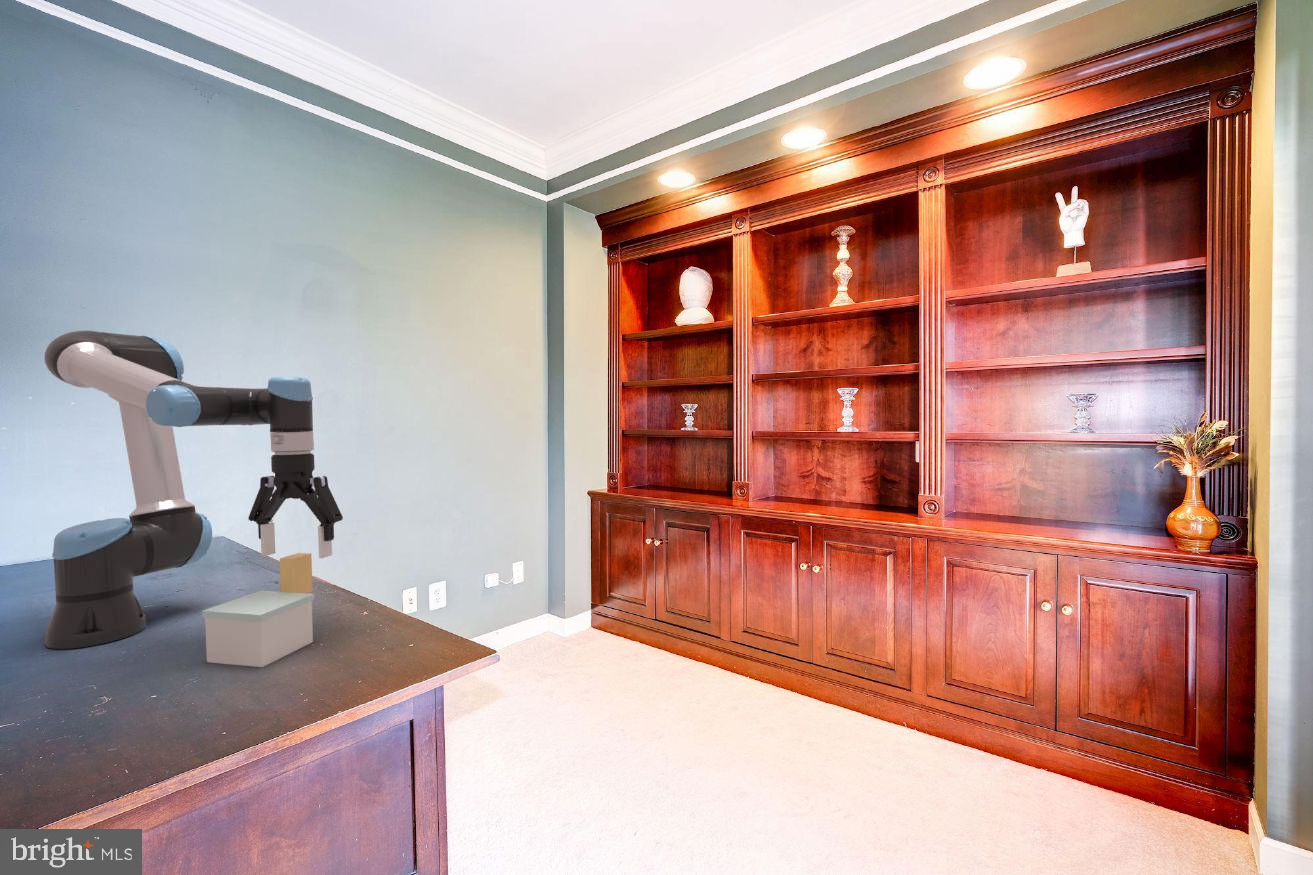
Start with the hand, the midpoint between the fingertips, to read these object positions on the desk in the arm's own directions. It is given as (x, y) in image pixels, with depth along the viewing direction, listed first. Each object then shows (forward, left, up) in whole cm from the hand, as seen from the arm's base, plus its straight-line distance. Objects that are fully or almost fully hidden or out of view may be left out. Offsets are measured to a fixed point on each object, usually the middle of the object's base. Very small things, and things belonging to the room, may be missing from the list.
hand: (296, 555), depth 121 cm
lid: (0, -6, -8) cm, 10 cm away
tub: (0, -9, -17) cm, 19 cm away
